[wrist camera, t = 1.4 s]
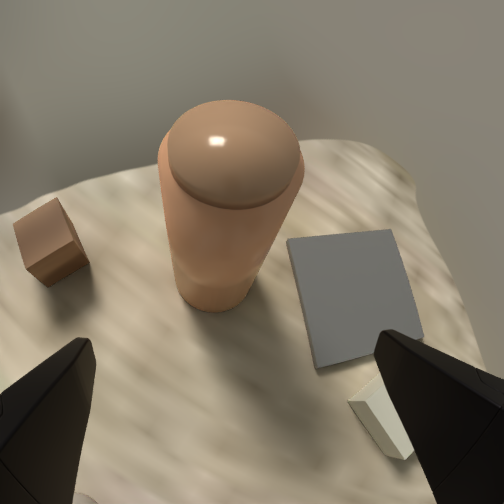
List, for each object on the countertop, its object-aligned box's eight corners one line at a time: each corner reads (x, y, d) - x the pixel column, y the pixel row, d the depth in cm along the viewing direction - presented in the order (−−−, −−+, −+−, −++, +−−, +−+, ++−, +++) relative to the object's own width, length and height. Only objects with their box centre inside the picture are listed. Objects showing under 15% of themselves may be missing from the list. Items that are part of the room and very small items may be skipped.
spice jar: (258, 307, 23) (329, 202, 11) (179, 317, 22) (158, 215, 9) (244, 236, 25) (289, 95, 13) (171, 244, 24) (156, 97, 12)
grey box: (416, 422, 21) (439, 422, 18) (383, 455, 20) (405, 459, 17) (382, 369, 23) (403, 364, 20) (346, 401, 21) (365, 400, 19)
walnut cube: (89, 263, 22) (73, 239, 19) (48, 288, 21) (25, 269, 17) (72, 223, 23) (56, 197, 20) (33, 247, 22) (12, 224, 18)
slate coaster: (420, 338, 24) (424, 336, 23) (314, 368, 22) (317, 367, 21) (387, 232, 28) (391, 229, 27) (285, 242, 26) (287, 238, 25)
